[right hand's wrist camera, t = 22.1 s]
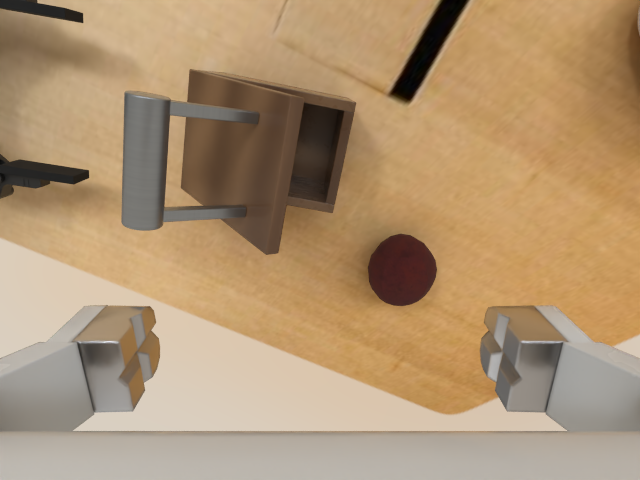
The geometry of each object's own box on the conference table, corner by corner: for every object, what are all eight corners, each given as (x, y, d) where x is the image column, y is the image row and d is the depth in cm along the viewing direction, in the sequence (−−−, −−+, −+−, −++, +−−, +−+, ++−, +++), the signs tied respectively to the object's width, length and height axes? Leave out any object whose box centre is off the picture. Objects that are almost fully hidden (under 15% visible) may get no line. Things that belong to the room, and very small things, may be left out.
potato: (364, 287, 50) (371, 319, 43) (364, 226, 47) (372, 250, 41) (426, 285, 50) (442, 316, 43) (429, 224, 47) (447, 247, 40)
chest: (348, 98, 42) (356, 102, 34) (330, 187, 46) (332, 213, 37) (223, 72, 42) (197, 70, 33) (213, 165, 45) (187, 186, 36)
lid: (305, 98, 23) (148, 71, 18) (278, 253, 26) (140, 271, 21) (201, 71, 32) (78, 48, 27) (191, 188, 36) (80, 188, 30)
